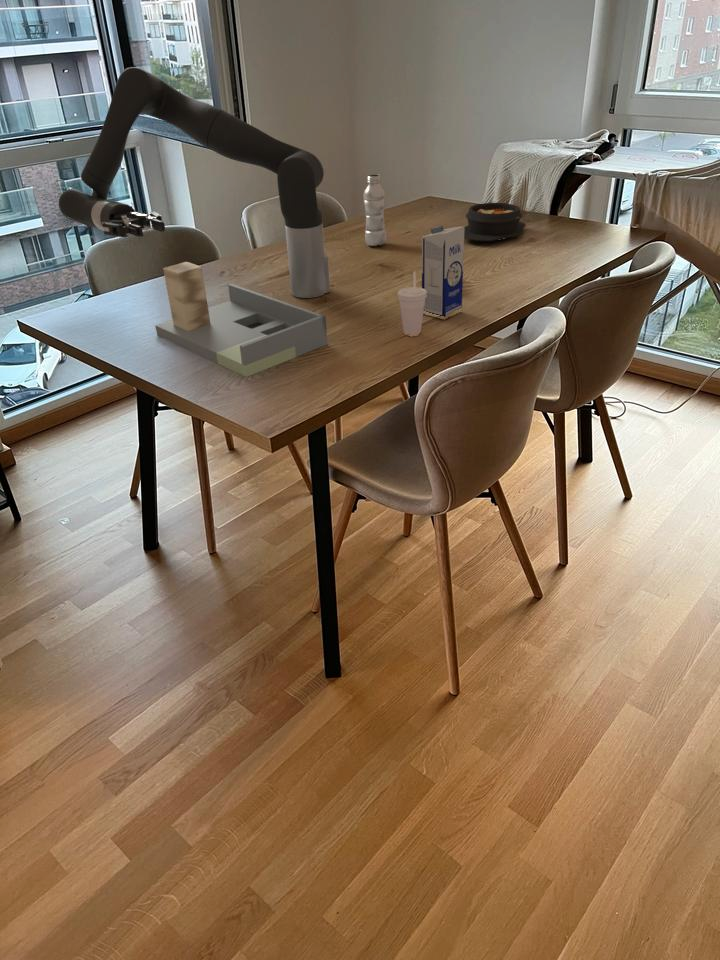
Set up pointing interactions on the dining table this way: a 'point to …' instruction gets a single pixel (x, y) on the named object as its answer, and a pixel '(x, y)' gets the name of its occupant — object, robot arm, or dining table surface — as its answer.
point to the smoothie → (412, 307)
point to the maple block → (187, 295)
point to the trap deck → (251, 332)
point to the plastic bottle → (374, 211)
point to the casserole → (493, 222)
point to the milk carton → (443, 269)
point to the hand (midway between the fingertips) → (152, 229)
